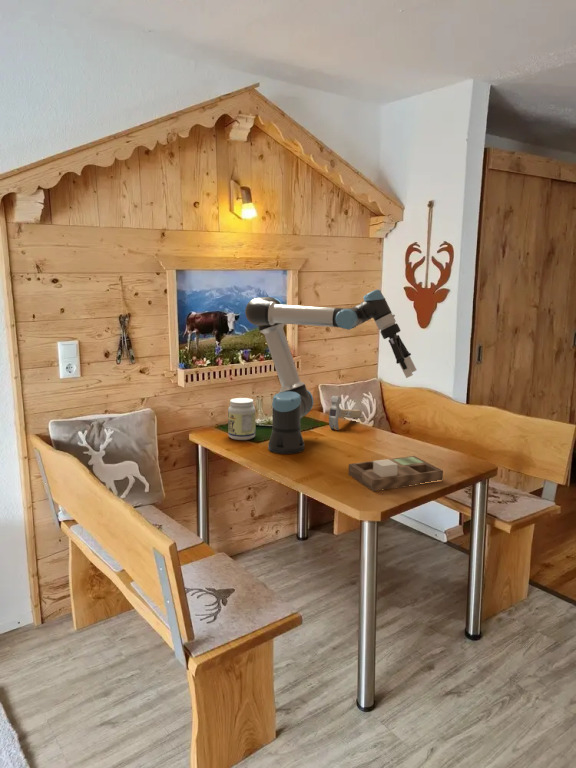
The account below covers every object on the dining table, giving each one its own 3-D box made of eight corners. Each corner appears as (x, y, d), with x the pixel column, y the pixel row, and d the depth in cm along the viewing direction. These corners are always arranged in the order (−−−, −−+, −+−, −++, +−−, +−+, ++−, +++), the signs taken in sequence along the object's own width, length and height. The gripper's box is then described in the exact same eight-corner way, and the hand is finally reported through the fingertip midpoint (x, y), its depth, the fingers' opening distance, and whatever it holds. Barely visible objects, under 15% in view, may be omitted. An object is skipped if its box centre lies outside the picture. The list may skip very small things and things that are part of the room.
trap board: (373, 491, 192) (373, 480, 191) (348, 474, 208) (348, 464, 208) (442, 481, 202) (443, 470, 201) (413, 465, 218) (414, 455, 218)
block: (381, 477, 194) (382, 466, 193) (372, 471, 199) (373, 460, 199) (397, 475, 196) (397, 464, 195) (387, 469, 202) (388, 459, 201)
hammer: (355, 398, 293) (330, 395, 267) (363, 399, 290) (339, 396, 264) (351, 429, 293) (326, 428, 266) (359, 430, 290) (335, 430, 264)
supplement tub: (224, 435, 259) (223, 398, 256) (249, 432, 264) (248, 396, 261) (234, 442, 248) (234, 404, 245) (259, 438, 253) (259, 401, 250)
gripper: (391, 324, 216) (416, 374, 216) (400, 320, 239) (423, 365, 239) (374, 333, 218) (399, 382, 218) (384, 328, 242) (407, 373, 242)
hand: (411, 374), depth 229 cm, fingers open, 13 cm apart
